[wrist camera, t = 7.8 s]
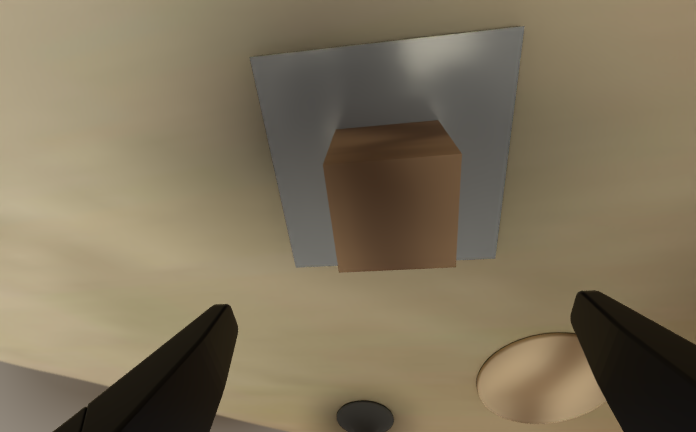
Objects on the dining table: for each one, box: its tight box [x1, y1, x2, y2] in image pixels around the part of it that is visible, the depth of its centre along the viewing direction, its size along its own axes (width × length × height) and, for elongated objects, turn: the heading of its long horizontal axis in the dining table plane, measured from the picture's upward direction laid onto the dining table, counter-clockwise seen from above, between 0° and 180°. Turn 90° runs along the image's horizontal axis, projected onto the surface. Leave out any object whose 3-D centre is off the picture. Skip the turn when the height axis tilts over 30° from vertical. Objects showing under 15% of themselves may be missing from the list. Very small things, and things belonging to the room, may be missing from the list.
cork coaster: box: [477, 333, 606, 424], centre depth 26 cm, size 10×10×1 cm
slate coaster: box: [250, 26, 524, 267], centre depth 18 cm, size 12×12×1 cm
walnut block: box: [323, 120, 462, 272], centre depth 16 cm, size 5×5×5 cm
